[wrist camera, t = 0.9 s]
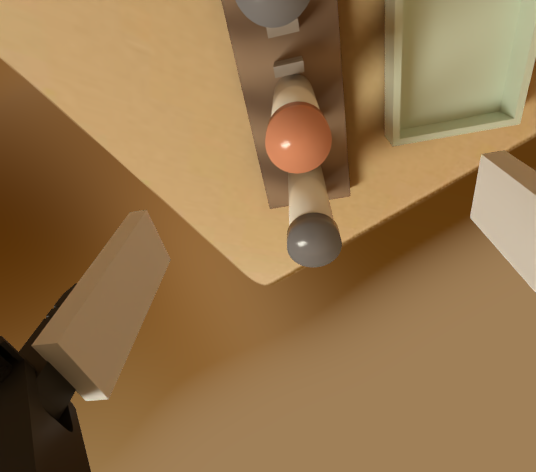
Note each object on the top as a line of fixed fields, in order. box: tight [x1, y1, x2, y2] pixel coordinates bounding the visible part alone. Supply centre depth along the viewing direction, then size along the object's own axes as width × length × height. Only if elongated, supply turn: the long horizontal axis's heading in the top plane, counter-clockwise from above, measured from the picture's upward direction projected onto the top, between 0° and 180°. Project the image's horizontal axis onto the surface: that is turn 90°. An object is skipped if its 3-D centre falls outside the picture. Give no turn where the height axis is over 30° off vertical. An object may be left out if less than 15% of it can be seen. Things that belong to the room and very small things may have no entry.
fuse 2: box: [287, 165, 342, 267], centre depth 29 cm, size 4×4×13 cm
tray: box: [385, 0, 536, 146], centre depth 27 cm, size 14×11×3 cm
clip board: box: [221, 0, 350, 209], centre depth 29 cm, size 23×9×4 cm, turn 12°
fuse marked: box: [265, 74, 332, 174], centre depth 25 cm, size 4×4×13 cm
